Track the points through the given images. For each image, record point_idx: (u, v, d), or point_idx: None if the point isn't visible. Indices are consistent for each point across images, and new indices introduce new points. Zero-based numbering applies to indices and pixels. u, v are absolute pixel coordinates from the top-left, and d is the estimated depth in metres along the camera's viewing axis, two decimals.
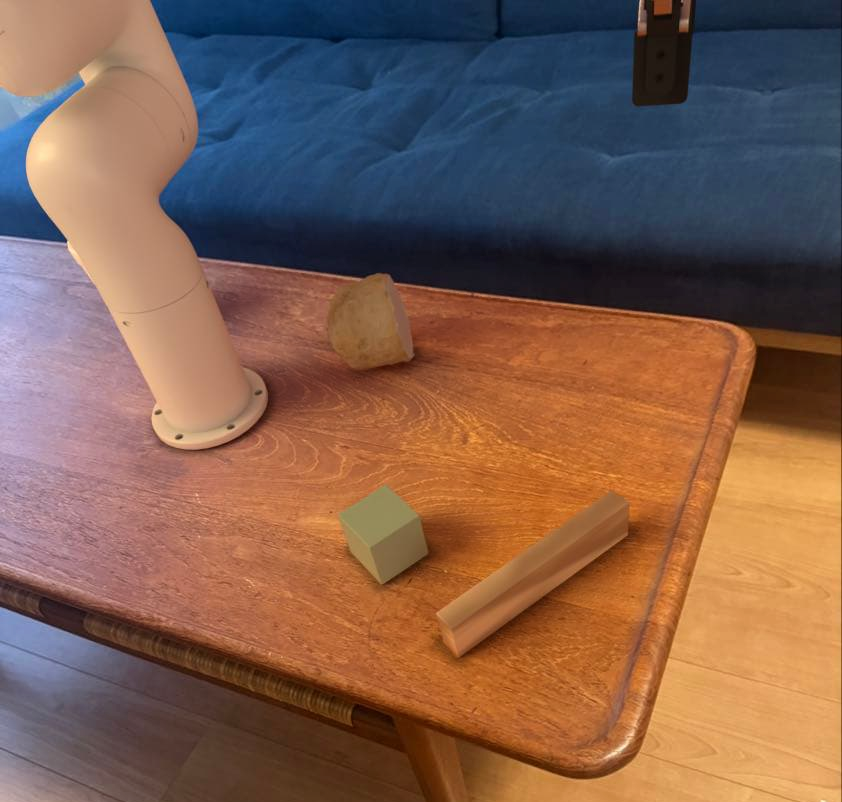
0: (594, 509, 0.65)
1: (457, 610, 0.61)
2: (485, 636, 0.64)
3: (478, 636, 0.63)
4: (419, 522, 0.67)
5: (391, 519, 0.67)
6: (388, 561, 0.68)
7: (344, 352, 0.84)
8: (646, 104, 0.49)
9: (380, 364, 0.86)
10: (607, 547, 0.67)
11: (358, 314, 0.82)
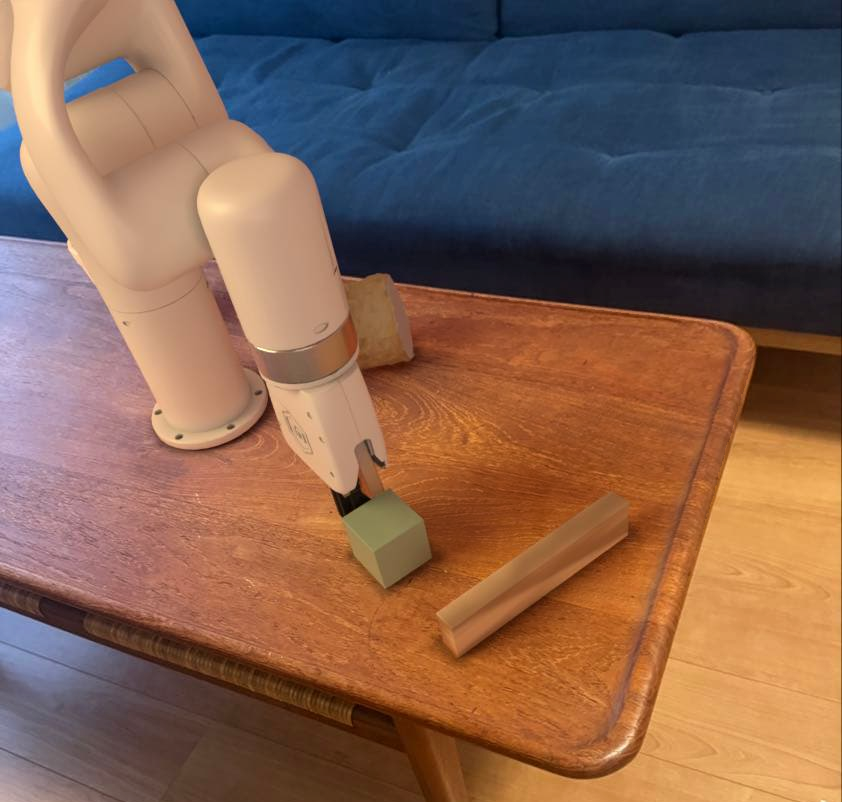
0: (594, 509, 0.65)
1: (457, 610, 0.61)
2: (485, 636, 0.64)
3: (478, 636, 0.63)
4: (423, 526, 0.67)
5: (395, 523, 0.66)
6: (392, 566, 0.67)
7: None
8: None
9: (380, 364, 0.86)
10: (607, 547, 0.67)
11: (358, 314, 0.82)
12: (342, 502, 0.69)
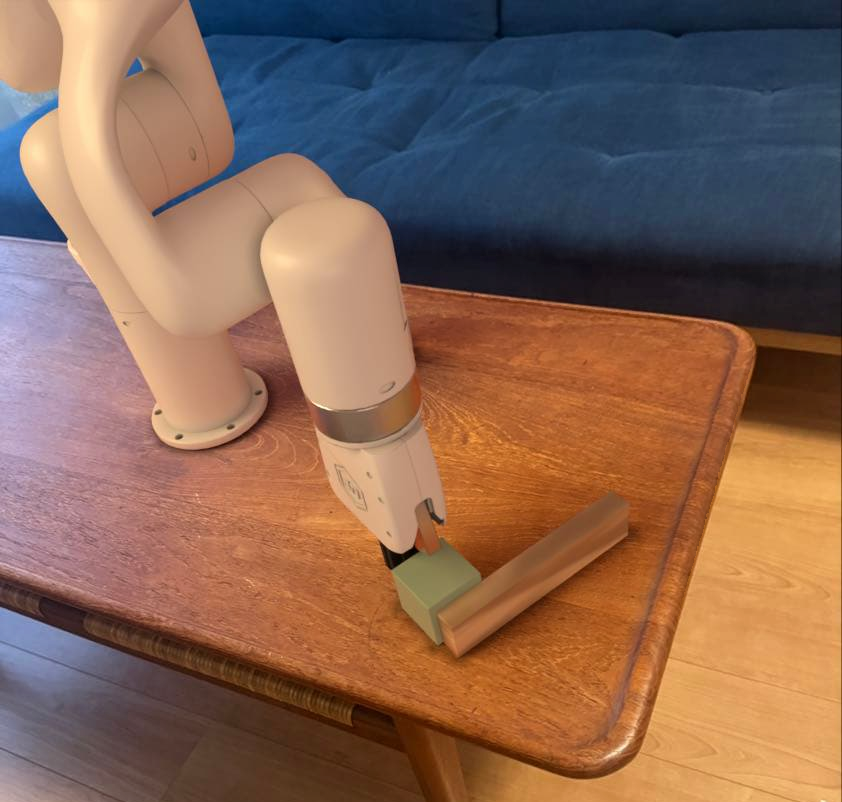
0: (594, 509, 0.65)
1: (457, 610, 0.61)
2: (485, 636, 0.64)
3: (478, 636, 0.63)
4: (479, 580, 0.62)
5: (449, 577, 0.62)
6: None
7: None
8: None
9: None
10: (607, 547, 0.67)
11: None
12: (391, 555, 0.65)
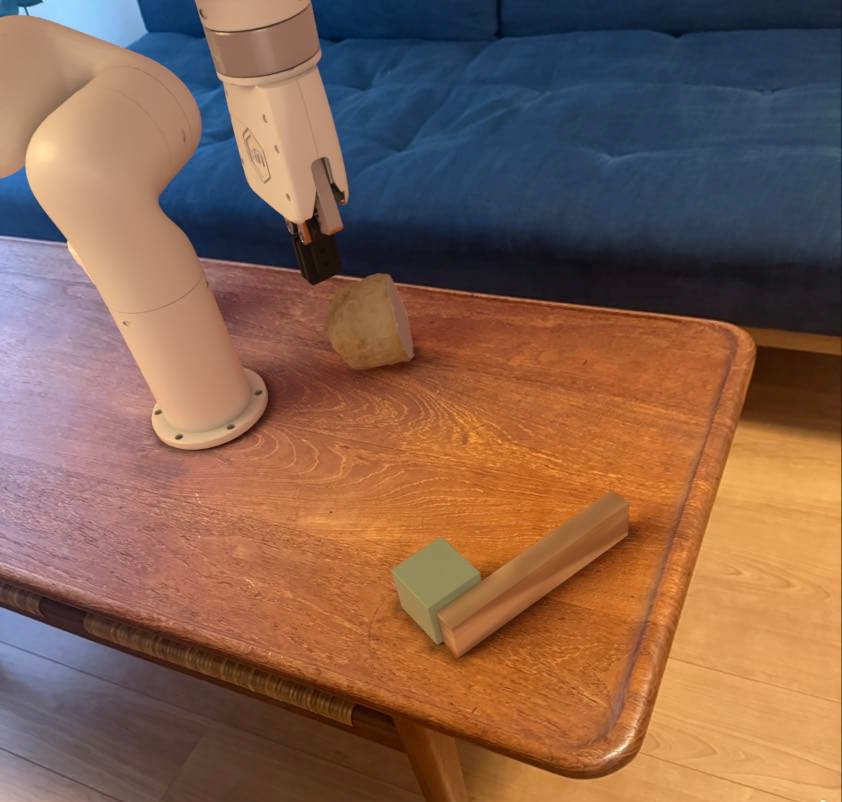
0: (594, 509, 0.65)
1: (457, 610, 0.61)
2: (485, 636, 0.64)
3: (478, 636, 0.63)
4: (479, 579, 0.62)
5: (449, 576, 0.62)
6: None
7: (344, 352, 0.84)
8: (319, 281, 0.70)
9: (380, 364, 0.86)
10: (607, 547, 0.67)
11: (358, 314, 0.82)
12: (303, 253, 0.67)
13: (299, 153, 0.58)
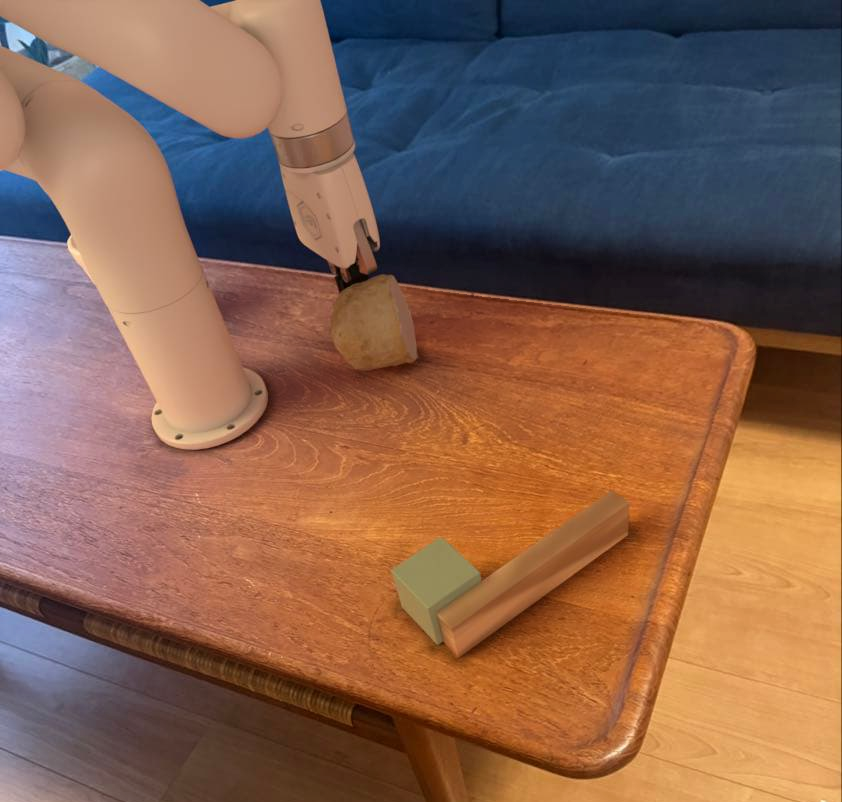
0: (594, 509, 0.65)
1: (457, 610, 0.61)
2: (485, 636, 0.64)
3: (478, 636, 0.63)
4: (479, 579, 0.62)
5: (449, 576, 0.62)
6: None
7: (348, 353, 0.84)
8: None
9: (383, 365, 0.86)
10: (607, 547, 0.67)
11: (361, 315, 0.82)
12: None
13: (345, 218, 0.78)
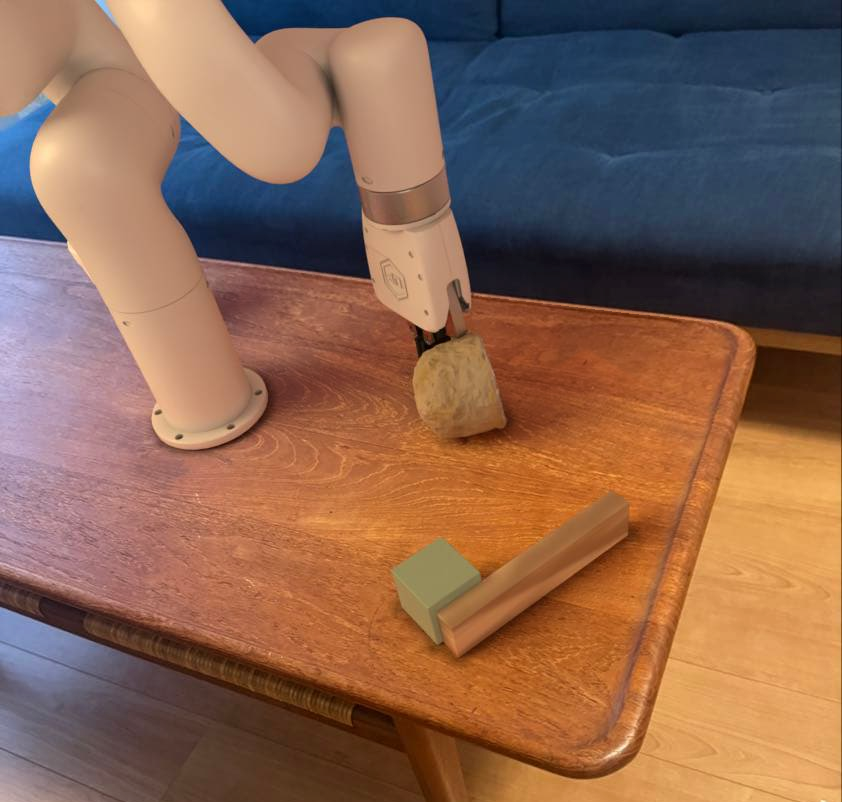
0: (594, 509, 0.65)
1: (457, 610, 0.61)
2: (485, 636, 0.64)
3: (478, 636, 0.63)
4: (479, 579, 0.62)
5: (449, 576, 0.62)
6: None
7: (436, 422, 0.75)
8: None
9: (473, 433, 0.77)
10: (607, 547, 0.67)
11: (453, 381, 0.73)
12: None
13: (438, 279, 0.70)
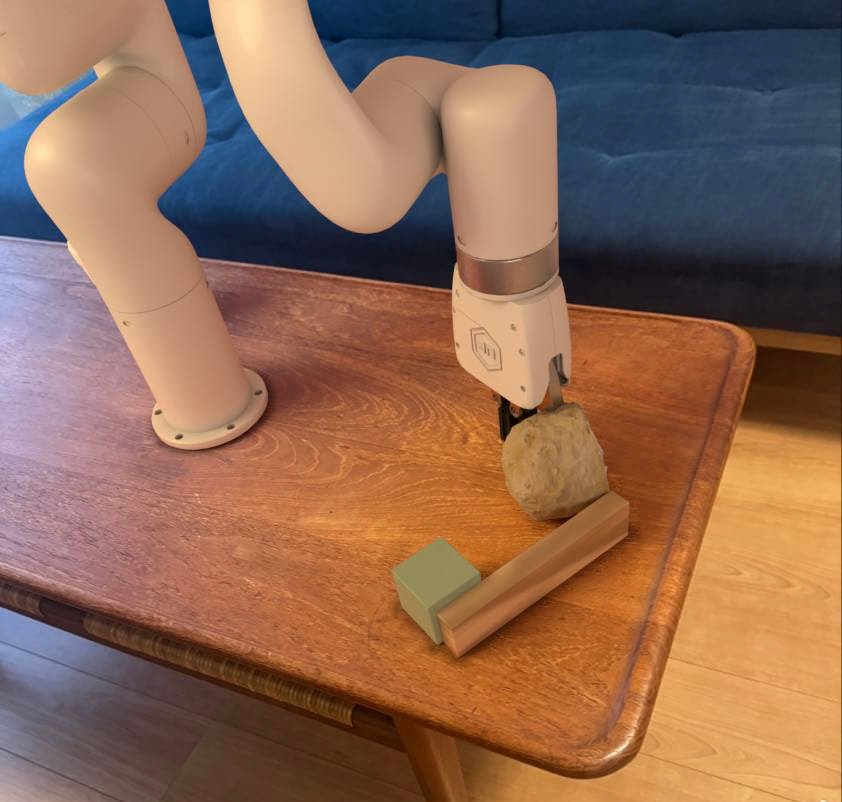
0: (594, 509, 0.65)
1: (457, 610, 0.61)
2: (485, 636, 0.64)
3: (478, 636, 0.63)
4: (479, 579, 0.62)
5: (449, 576, 0.62)
6: None
7: (535, 506, 0.66)
8: None
9: None
10: (607, 547, 0.67)
11: (556, 459, 0.64)
12: (510, 423, 0.72)
13: (542, 354, 0.62)
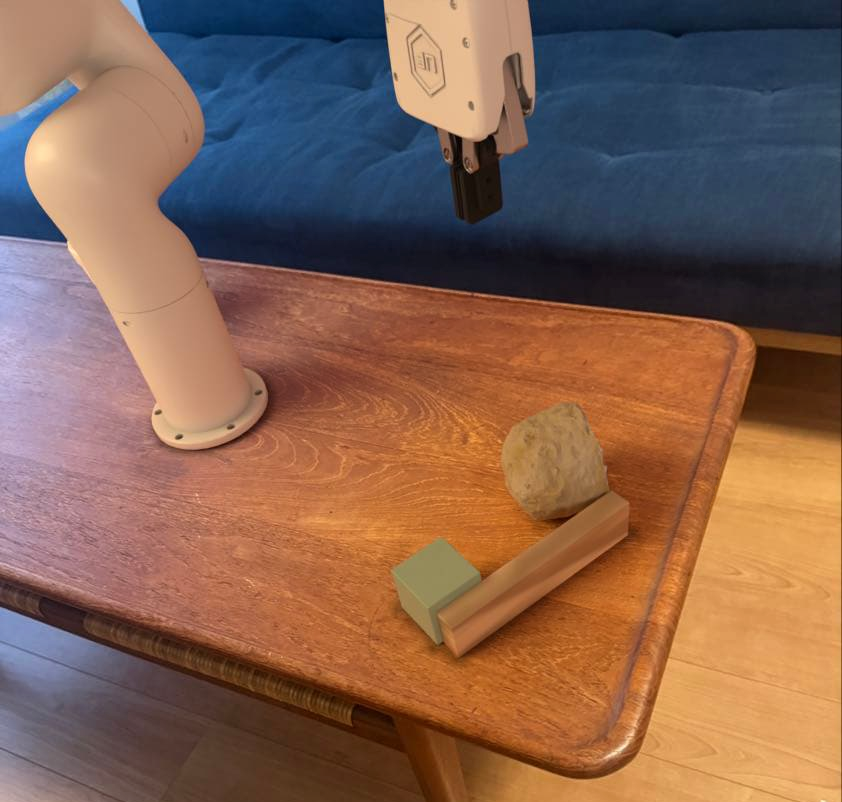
0: (594, 509, 0.65)
1: (457, 610, 0.61)
2: (485, 636, 0.64)
3: (478, 636, 0.63)
4: (479, 579, 0.62)
5: (449, 576, 0.62)
6: None
7: (535, 506, 0.66)
8: (478, 220, 0.60)
9: None
10: (607, 547, 0.67)
11: (556, 460, 0.64)
12: (465, 185, 0.57)
13: (492, 46, 0.48)
